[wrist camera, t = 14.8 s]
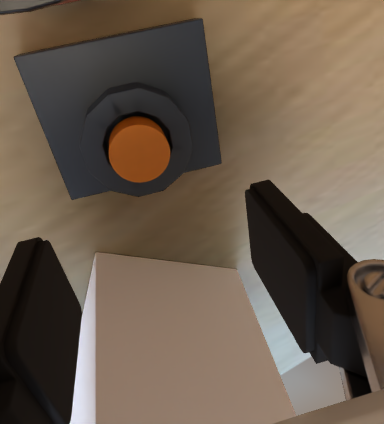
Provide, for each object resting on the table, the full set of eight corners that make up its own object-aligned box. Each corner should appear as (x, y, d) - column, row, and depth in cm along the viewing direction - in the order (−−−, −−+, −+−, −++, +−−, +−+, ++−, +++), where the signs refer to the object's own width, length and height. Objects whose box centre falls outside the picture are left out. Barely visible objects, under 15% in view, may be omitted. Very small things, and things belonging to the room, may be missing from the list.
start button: (159, 110, 19) (163, 118, 17) (170, 163, 20) (175, 175, 19) (101, 123, 18) (100, 132, 17) (118, 176, 20) (118, 189, 18)
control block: (196, 18, 19) (211, 18, 17) (215, 155, 24) (230, 174, 21) (20, 53, 19) (2, 60, 16) (74, 189, 23) (68, 214, 20)
